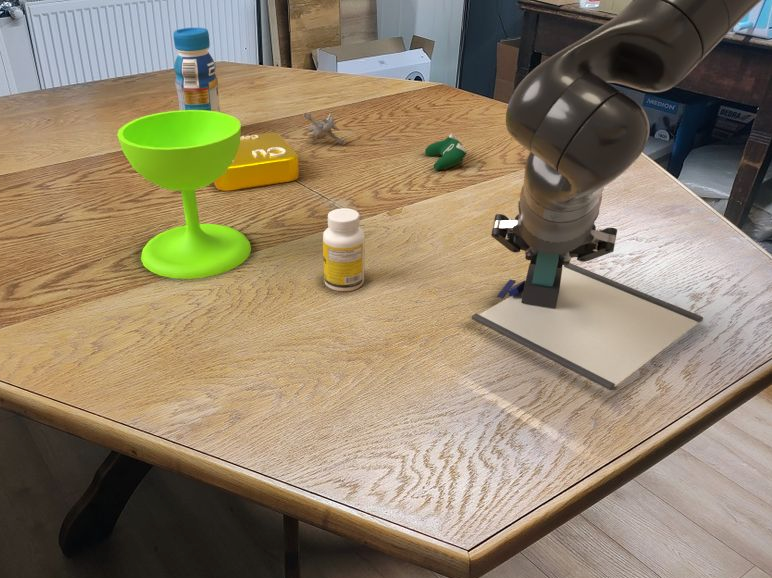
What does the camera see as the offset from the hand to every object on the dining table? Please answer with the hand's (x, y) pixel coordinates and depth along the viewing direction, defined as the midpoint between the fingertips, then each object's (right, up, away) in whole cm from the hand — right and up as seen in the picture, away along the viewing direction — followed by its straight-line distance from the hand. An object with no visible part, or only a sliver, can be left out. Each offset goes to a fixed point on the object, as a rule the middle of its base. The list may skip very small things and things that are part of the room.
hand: (547, 258), depth 85 cm
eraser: (-1, -4, 0) cm, 4 cm away
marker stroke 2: (-3, -4, +2) cm, 5 cm away
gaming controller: (-4, +23, +41) cm, 47 cm away
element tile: (-40, +21, +40) cm, 60 cm away
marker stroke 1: (-4, -4, +2) cm, 6 cm away
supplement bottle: (-25, -2, +7) cm, 26 cm away
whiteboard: (+3, -9, -3) cm, 10 cm away
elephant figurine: (-27, +30, +51) cm, 65 cm away
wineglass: (-46, +3, +15) cm, 48 cm away
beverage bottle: (-51, +33, +58) cm, 84 cm away
